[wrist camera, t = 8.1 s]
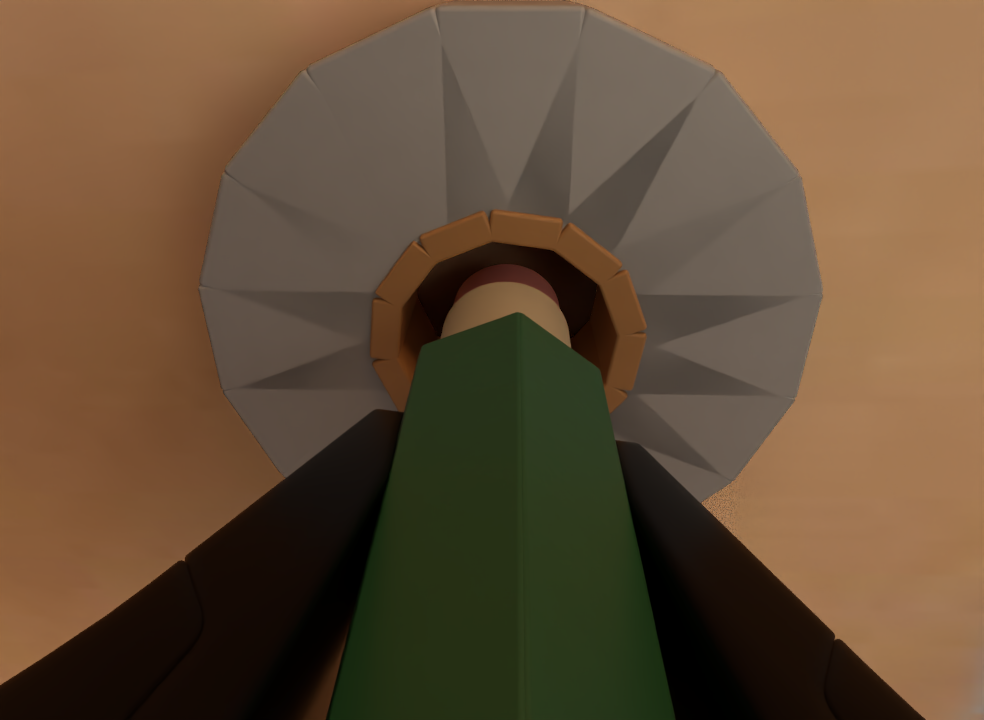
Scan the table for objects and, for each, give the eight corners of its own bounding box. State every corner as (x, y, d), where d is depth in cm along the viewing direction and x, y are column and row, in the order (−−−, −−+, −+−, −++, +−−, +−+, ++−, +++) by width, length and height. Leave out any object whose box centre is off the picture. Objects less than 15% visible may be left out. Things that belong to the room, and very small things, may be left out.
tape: (395, 529, 17) (376, 616, 14) (148, 143, 12) (64, 180, 10) (809, 404, 15) (863, 483, 12) (692, -116, 10) (743, -143, 8)
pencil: (429, 370, 13) (117, 1807, 3) (444, 226, 11) (-78, 2094, 1) (560, 387, 13) (718, 1837, 3) (591, 246, 11) (1116, 2112, 1)
